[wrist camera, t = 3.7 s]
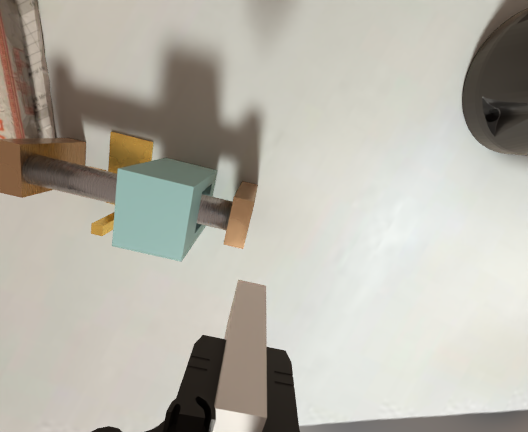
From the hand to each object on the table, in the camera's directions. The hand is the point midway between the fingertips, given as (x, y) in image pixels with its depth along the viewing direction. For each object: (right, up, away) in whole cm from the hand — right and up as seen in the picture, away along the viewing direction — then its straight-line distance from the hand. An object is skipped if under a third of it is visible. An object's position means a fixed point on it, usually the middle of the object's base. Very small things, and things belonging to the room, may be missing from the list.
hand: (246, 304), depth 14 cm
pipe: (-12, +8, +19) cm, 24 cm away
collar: (-8, +8, +17) cm, 20 cm away
